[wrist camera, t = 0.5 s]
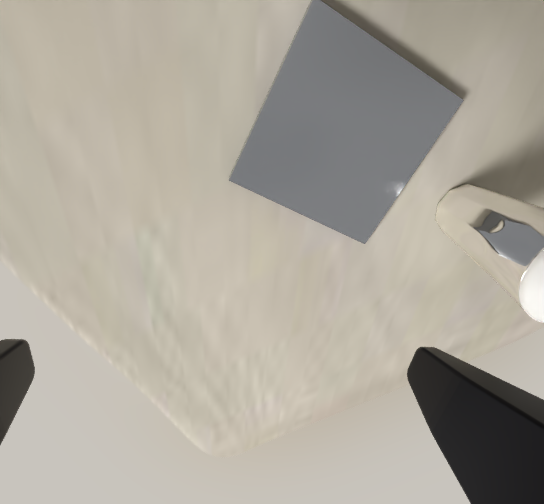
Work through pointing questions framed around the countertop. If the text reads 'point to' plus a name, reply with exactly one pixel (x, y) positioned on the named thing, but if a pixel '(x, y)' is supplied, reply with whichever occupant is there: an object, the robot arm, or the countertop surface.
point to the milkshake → (499, 240)
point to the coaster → (342, 126)
